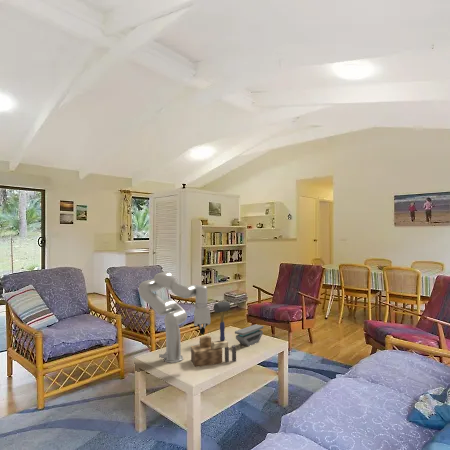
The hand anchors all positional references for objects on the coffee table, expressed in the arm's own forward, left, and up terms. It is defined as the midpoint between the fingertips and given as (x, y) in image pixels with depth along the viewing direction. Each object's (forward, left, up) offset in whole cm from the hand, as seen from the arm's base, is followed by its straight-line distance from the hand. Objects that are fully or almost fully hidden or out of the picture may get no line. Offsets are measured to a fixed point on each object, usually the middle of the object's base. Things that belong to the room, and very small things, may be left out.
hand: (202, 334), depth 216 cm
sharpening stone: (+44, +30, -20) cm, 56 cm away
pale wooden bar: (+11, 0, -10) cm, 15 cm away
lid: (+4, +5, -12) cm, 13 cm away
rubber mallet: (+26, +42, -20) cm, 53 cm away
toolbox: (+8, +5, -20) cm, 22 cm away
